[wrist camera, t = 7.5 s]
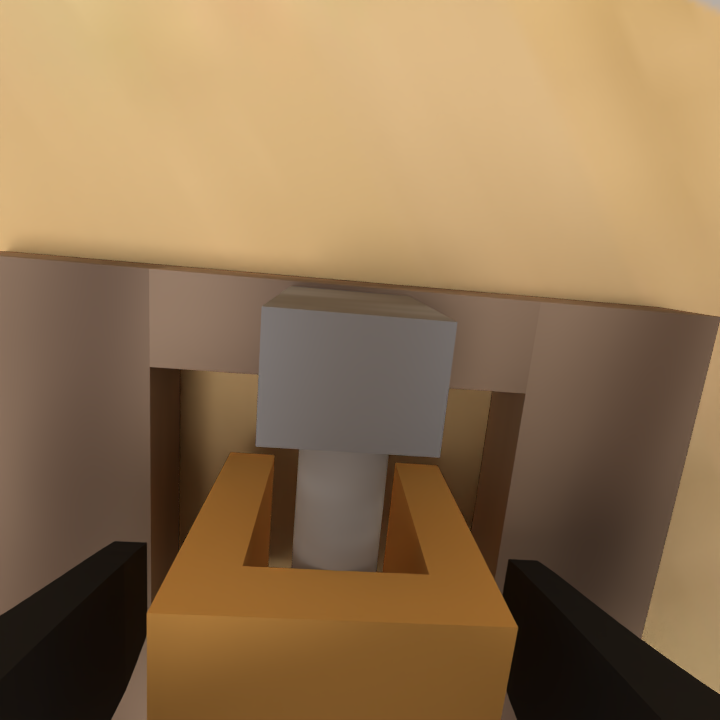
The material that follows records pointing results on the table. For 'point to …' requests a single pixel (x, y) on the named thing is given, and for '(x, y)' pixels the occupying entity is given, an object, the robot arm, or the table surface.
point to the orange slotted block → (328, 616)
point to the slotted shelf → (177, 317)
